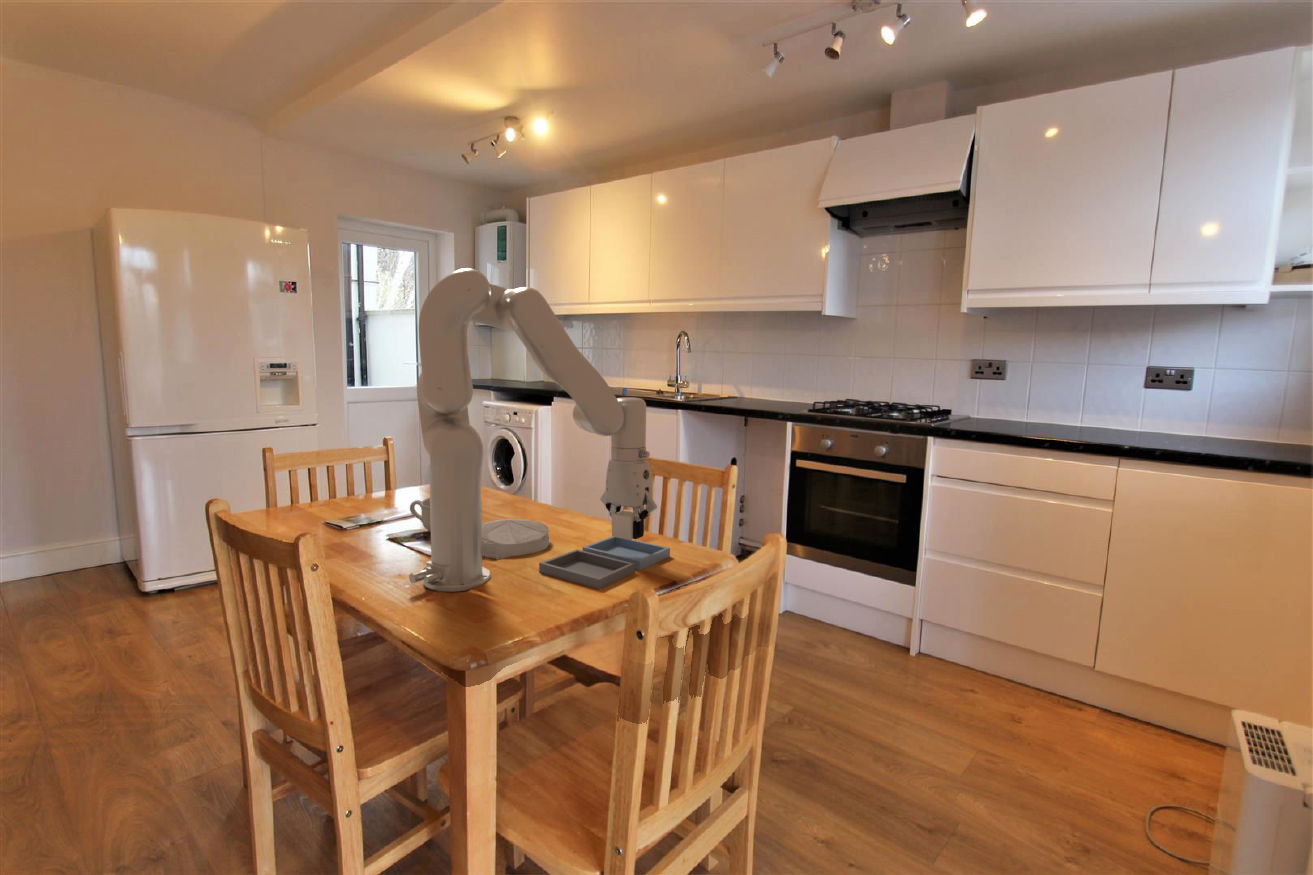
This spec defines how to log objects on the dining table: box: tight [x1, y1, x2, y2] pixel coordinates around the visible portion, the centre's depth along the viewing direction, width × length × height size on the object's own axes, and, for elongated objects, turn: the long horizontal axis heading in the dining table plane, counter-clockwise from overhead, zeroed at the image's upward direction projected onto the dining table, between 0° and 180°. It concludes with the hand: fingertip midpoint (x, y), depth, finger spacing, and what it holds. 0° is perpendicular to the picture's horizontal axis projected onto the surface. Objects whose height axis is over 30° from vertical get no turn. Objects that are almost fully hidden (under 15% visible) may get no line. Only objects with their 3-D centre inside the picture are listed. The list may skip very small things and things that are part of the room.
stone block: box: [611, 509, 635, 540], centre depth 139 cm, size 5×5×5 cm
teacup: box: [409, 497, 431, 533], centre depth 158 cm, size 14×11×8 cm
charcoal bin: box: [538, 548, 636, 590], centre depth 129 cm, size 12×16×2 cm
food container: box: [482, 518, 552, 561], centre depth 147 cm, size 20×20×7 cm
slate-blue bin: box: [582, 535, 671, 571], centre depth 140 cm, size 12×16×2 cm
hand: (627, 534), depth 140 cm, fingers closed on stone block, 5 cm apart
